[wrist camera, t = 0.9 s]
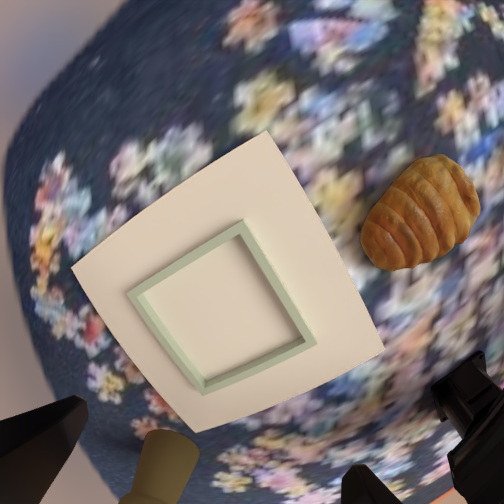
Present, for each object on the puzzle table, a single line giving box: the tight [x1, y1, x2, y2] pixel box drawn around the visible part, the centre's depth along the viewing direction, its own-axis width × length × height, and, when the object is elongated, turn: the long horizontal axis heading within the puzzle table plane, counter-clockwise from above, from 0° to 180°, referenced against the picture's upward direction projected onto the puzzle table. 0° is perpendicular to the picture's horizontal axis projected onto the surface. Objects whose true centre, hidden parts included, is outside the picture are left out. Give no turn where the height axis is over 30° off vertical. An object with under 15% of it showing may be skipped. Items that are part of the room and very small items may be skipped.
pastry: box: [360, 154, 480, 272], centre depth 17 cm, size 9×7×4 cm
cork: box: [118, 429, 200, 504], centre depth 19 cm, size 6×6×11 cm
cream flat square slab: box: [71, 130, 385, 433], centre depth 20 cm, size 18×18×2 cm
